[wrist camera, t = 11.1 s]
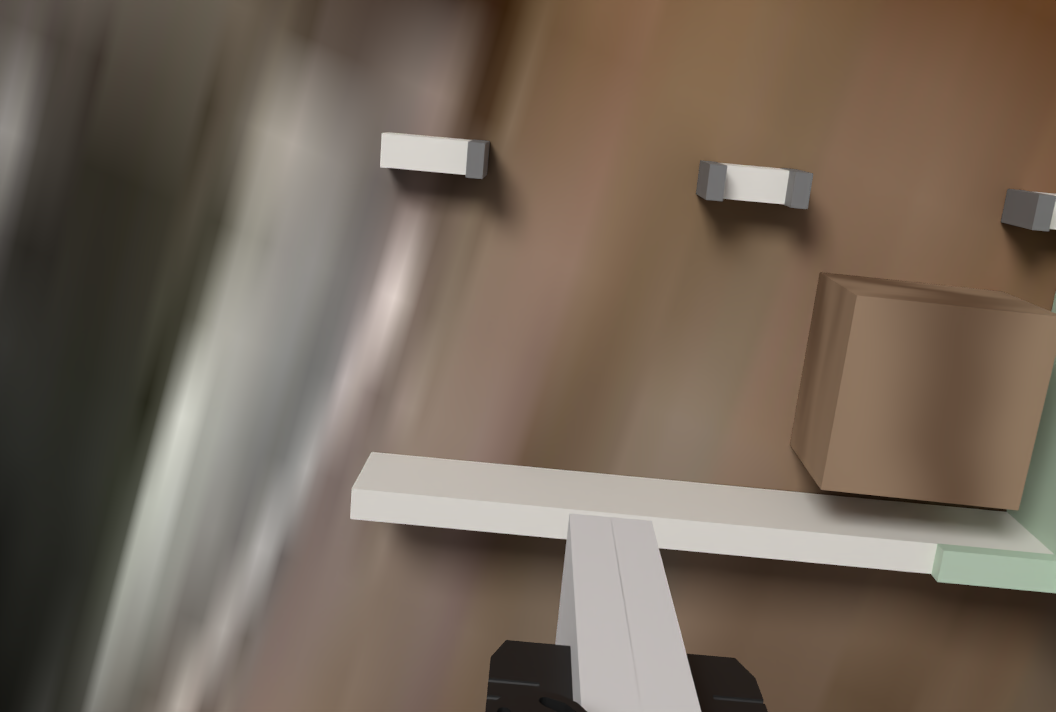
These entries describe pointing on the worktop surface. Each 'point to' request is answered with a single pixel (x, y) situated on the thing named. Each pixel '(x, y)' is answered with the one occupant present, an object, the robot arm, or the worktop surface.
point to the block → (922, 390)
